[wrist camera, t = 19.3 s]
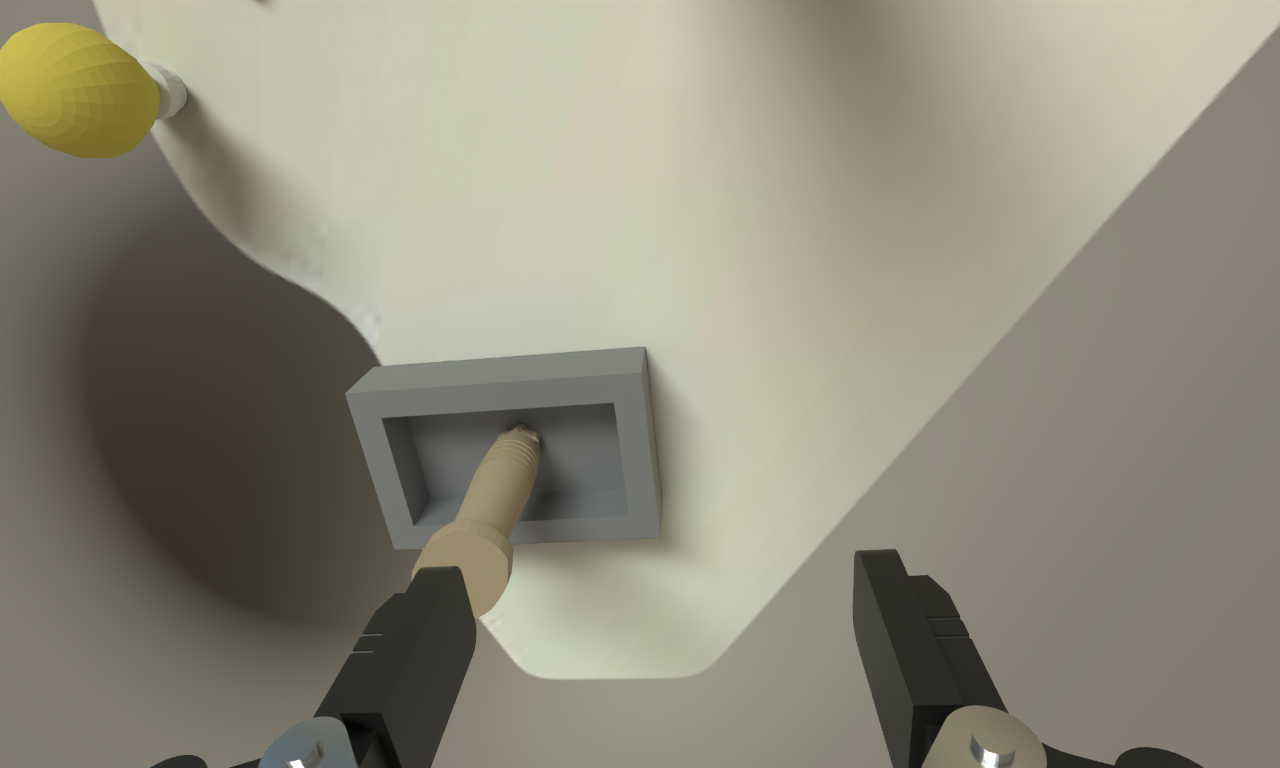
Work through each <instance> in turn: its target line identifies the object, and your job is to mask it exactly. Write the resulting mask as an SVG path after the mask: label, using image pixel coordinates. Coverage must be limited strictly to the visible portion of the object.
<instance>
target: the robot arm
mask: <svg viewBox="0 0 1280 768" xmlns="http://www.w3.org/2000/svg"><path fill="white" fill-rule="evenodd" d="M853 623H854V630H855V637H856V641H857V645H858V649H859V652H860V656H861V659H862V662H863V666H864V669H865V673H866V676H867V679H868V683H869V686H870V690H871V693H872V697H873V700H874V704H875V707H876V710H877V714H878V717H879V721H880V724H881V728H882V731H883V734H884V737H885V741H886V744H887V748H888V751H889V755H890V758H891V762H892V765H893V768H1203V767H1202V766H1200V765H1198V764H1197V763H1195V762H1193V761H1191V760H1190V759H1188V758H1185V757H1183V756H1181V755H1179V754H1176V753H1173V752H1170V751H1167V750H1163V749H1158V748H1150V747H1139V748H1134V749H1130V750H1128V751H1126V752H1124V753H1123V754H1121V755H1120V756H1119V757H1118V759H1117V760H1116V763H1115V766H1113V765H1110V764H1106V763H1102V762H1098V761H1094V760H1090V759H1086V758H1083V757H1079V756H1075V755H1071V754H1068V753H1064V752H1061V751H1059V750H1056V749H1054V748H1051V747H1049V746H1047V745H1046V744H1044V743H1041V742H1040V740H1039V739H1038V737H1037V736H1036V735H1035V734H1034V732H1033V731H1032V730H1031V729H1030V728H1029V727H1028V726H1026V725H1025V724H1024V723H1023V722H1022V721H1020V720H1019V719H1017V718H1016V717H1014V716H1012V715H1010V714H1009V713H1008V711H1007V709H1006V708H1005V706H1004V704H1003V702H1002V700H1001V698H1000V696H999V694H998V692H997V690H996V688H995V686H994V684H993V682H992V680H991V678H990V676H989V674H988V671H987V669H986V667H985V665H984V663H983V662H982V660H981V658H980V655H979V653H978V652H977V649H976V647H975V645H974V644H973V641H972V639H970V638H969V633H968V631H967V629H966V627H965V625H964V623H963V621H961V620H960V615H959V613H958V611H957V609H956V607H955V605H954V603H953V601H952V599H951V597H950V595H949V594H948V593H947V592H946V591H945V590H944V589H943V588H942V587H941V586H939V585H938V584H937V583H936V582H935V581H934V580H933V579H932V578H931V577H929V576H928V575H920V576H908V574H907V572H906V569H905V567H904V565H903V563H902V560H901V558H900V556H899V554H898V552H897V550H895V549H884V550H859V551H856V552H855V558H854V587H853ZM475 644H476V623H475V618H474V615H473V611H472V607H471V604H470V600H469V596H468V593H467V589H466V585H465V582H464V578H463V574H462V572H461V569H460V568H459V567H458V566H441V567H422V568H420V569H419V570H418V571H417V573H416V575H415V576H414V578H413V580H412V582H411V584H410V586H409V587H408V589H407V591H406V593H397V594H394V595H393V596H392V597H391V598H390V599H389V600H388V601H387V602H385V603H384V604H383V605H382V606H381V607H380V608H379V609H378V610H377V611H376V612H375V613H374V615H373V616H372V618H371V620H370V621H369V623H368V625H367V627H366V628H365V630H364V632H363V637H360V638H359V640H358V642H357V644H356V645H355V647H354V649H353V654H351V655H349V657H348V659H347V661H346V662H345V664H344V666H343V667H342V669H341V671H340V673H339V674H338V676H337V678H336V679H335V681H334V683H333V684H332V686H331V688H330V690H329V691H328V693H327V695H326V696H325V698H324V700H323V702H322V703H321V705H320V707H319V708H318V710H317V712H316V714H315V715H314V717H313V718H311V719H308V720H305V721H302V722H300V723H298V724H296V725H294V726H293V727H291V728H289V729H288V730H286V731H285V732H284V733H282V734H281V735H280V736H279V737H278V738H276V739H275V741H274V742H273V743H272V744H271V745H270V746H269V747H268V749H267V750H266V751H265V753H264V755H263V756H262V758H260V759H257V760H254V761H251V762H247V763H244V764H240V765H237V766H234V767H230V768H431V765H432V762H433V760H434V757H435V754H436V752H437V749H438V746H439V744H440V741H441V738H442V736H443V733H444V730H445V728H446V725H447V722H448V720H449V717H450V714H451V712H452V709H453V706H454V704H455V701H456V698H457V696H458V693H459V690H460V688H461V685H462V682H463V679H464V677H465V674H466V672H467V669H468V666H469V664H470V661H471V658H472V656H473V653H474V649H475ZM151 768H208V767H207V765H206V763H205V762H204V761H203V760H202V759H201V758H199V757H197V756H193V755H183V756H177V757H173V758H170V759H167V760H164V761H162V762H160V763H158V764H156V765H154V766H152V767H151Z"/></svg>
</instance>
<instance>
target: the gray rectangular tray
mask: <svg viewBox="0 0 1280 768" xmlns="http://www.w3.org/2000/svg"><path fill="white" fill-rule="evenodd" d="M345 395H346V398H347V401H348V404H349V407H350V411H351V414H352V417H353V420H354V423H355V426H356V430H357V433H358V436H359V439H360V442H361V445H362V448H363V452H364V454H365V458H366V461H367V464H368V467H369V471H370V473H371V477H372V480H373V483H374V486H375V489H376V492H377V496H378V499H379V502H380V505H381V508H382V511H383V514H384V518H385V521H386V524H387V527H388V530H389V533H390V537H391V539H392V543H393V546H394V549H419V548H425V546H426V545H427V543H428V541H429V539H430V538H431V537H432V535H433V534H435V533H436V532H437V531H439V530H440V529H441V528H443V527H444V526H446V525H448V524H449V523H451V522H453V521H455V519H456V517H457V514H458V512H459V510H460V508H461V505H462V503H463V501H464V498H465V496H466V493H467V491H468V489H469V486H470V484H471V481H472V479H473V477H474V474H475V472H476V471H477V469H478V467H479V465H480V463H481V462H482V460H483V458H484V457H485V456H486V454H487V452H488V451H489V450H490V448H491V447H492V445H493V444H494V443H495V442H496V440H497V438H498V437H499V435H500V434H501V433H502V432H503V431H504V430H510V429H513V428H515V427H516V426H517V425H518V424H524V425H525V426H526V427H527V428H529V429H531V430H533V431H537V432H538V433H539V434H540V441H539V446H540V448H541V449H542V453H541V458H540V461H539V468H538V472H537V475H536V479H535V482H534V485H533V488H532V491H531V494H530V496H529V498H528V500H527V502H526V504H525V506H524V508H523V510H522V512H521V514H520V517H519V519H518V521H517V523H516V525H515V527H514V529H513V531H512V533H511V535H510V537H509V539H508V540H509V541H510V543H511V544H531V543H554V542H577V541H599V540H622V539H644V538H660V531H661V516H662V493H661V484H660V475H659V466H658V457H657V448H656V439H655V430H654V421H653V412H652V403H651V394H650V385H649V376H648V367H647V358H646V349H645V347H634V348H621V349H607V350H594V351H581V352H567V353H554V354H540V355H527V356H514V357H500V358H487V359H474V360H460V361H447V362H434V363H420V364H407V365H394V366H380V367H373V368H372V369H371V370H370V371H369V372H368V373H367V374H366V375H365V376H363V377H362V378H361V379H360V380H359V381H358V382H357V383H356V384H355V385H354V386H353V387H352V388H350V389H349V390H348V391H347V392H346V393H345Z"/></svg>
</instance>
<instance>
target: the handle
mask: <svg viewBox="0 0 1280 768" xmlns="http://www.w3.org/2000/svg"><path fill="white" fill-rule="evenodd" d="M539 441H540V434H539V433H538V432H537V431H533V430H531V429H529V428H527V427H526V426H525V425H524V424H518V425H517V426H516V427H515V428H513V429H510V430H504V431H503V432H502V433H501V434H500V435H499V437H498V438H497V440H496V442H495V443H494V444H493V445H492V447H491V448H490V450H489V451H488V452H487V454H486V456H485V457H484V458H483V460H482V462H481V463H480V465H479V467H478V469H477V471H476V472H475V474H474V477H473V479H472V481H471V484H470V486H469V489H468V491H467V493H466V496H465V498H464V501H463V503H462V505H461V508H460V510H459V512H458V514H457V517H456V519H455V521H453V522H451V523H449V524H448V525H446V526H444V527H443V528H441V529H440V530H439V531H437V532H436V533H435V534H433V535H432V537H431V538H430V539H429V541H428V543H427V545H426V546H425V548H424V550H423V552H422V554H421V555H420V557H419V559H418V561H417V562H416V564H415V566H414V569H413V571H412V580H413V578H414V576H415V575H416V573H417V571H418V570H419V569H420V568H422V567H441V566H458V567H459V568H460V569H461V572H462V574H463V578H464V582H465V585H466V589H467V593H468V596H469V600H470V604H471V607H472V611H473V615H474V618H475V619H476V618H478V617H480V616H482V615H484V614H485V613H487V612H488V611H490V610H491V609H492V608H493V607H494V606H495V604H496V603H497V601H498V600H499V598H500V597H501V595H502V594H503V592H504V590H505V588H506V586H507V584H508V581H509V579H510V576H511V571H512V559H513V550H512V544H511V543H510V541H509V540H508V539H509V537H510V535H511V533H512V531H513V529H514V527H515V525H516V523H517V521H518V519H519V517H520V514H521V512H522V510H523V508H524V506H525V504H526V502H527V500H528V498H529V496H530V494H531V491H532V488H533V485H534V482H535V479H536V475H537V472H538V468H539V461H540V458H541V453H542V449H541V448H540V446H539Z"/></svg>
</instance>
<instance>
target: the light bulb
mask: <svg viewBox="0 0 1280 768" xmlns="http://www.w3.org/2000/svg"><path fill="white" fill-rule="evenodd" d="M0 99H1V101H2V103H3V105H4V106H5V108H6V109H7V111H8V113H9V114H10V116H11V117H12V118H13V119H14V120H15V121H16V122H17V123H18V124H19V125H20V126H21V127H22V128H23V129H24V130H25V131H26V132H27V133H28V134H30V135H31V136H32V137H34V138H35V139H37V140H39V141H40V142H42V143H43V144H45V145H46V146H48V147H50V148H52V149H55V150H58V151H61V152H64V153H67V154H70V155H73V156H76V157H81V158H112V157H116V156H119V155H122V154H124V153H127V152H129V151H132V150H133V149H134V148H135V147H136V146H137V145H138V144H139V143H140V142H141V141H142V140H143V139H144V137H145V136H146V134H147V133H148V132H149V130H150V129H151V127H152V126H153V125H154V122H155V120H157V119H167V118H170V117H172V116H174V115H175V114H176V113H177V112H178V110H179V109H181V108H182V107H183V106H184V105H185V103H186V101H187V91H186V87H185V85H184V83H183V82H182V80H181V79H180V78H179V77H178V76H177V75H176V74H174V73H173V72H171V71H168V70H167V69H165V68H164V67H162V66H161V65H159V64H156V63H153V62H138V61H137V60H136V59H135V58H134V57H132V56H131V55H130V54H128V53H127V52H125V51H124V50H123V49H121V48H120V47H119V46H117V45H116V44H114V43H113V42H112V41H110V40H109V39H107V38H106V37H104V36H103V35H101V34H100V33H98V32H97V31H94V30H91V29H88V28H85V27H83V26H80V25H76V24H71V23H40V24H37V25H33V26H31V27H28V28H26V29H24V30H22V31H19V32H17V33H16V34H14V35H12V37H11V38H10V39H9V40H8V41H7V43H6V44H5V45H4V46H3V48H2V49H1V50H0Z"/></svg>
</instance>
